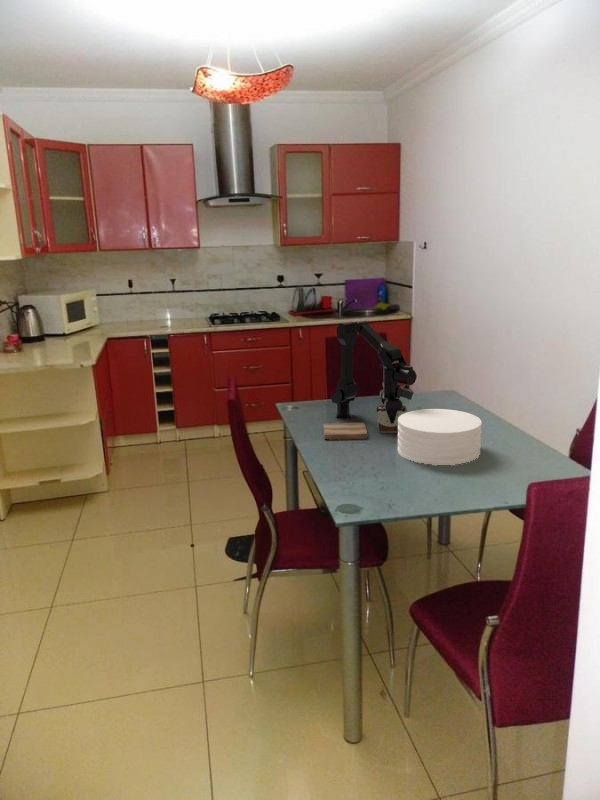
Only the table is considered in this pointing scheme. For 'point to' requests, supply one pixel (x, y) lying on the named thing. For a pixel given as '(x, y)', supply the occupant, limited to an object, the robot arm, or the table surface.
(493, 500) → the table surface
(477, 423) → the plate stack
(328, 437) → the walnut block
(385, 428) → the food container
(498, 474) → the table surface
